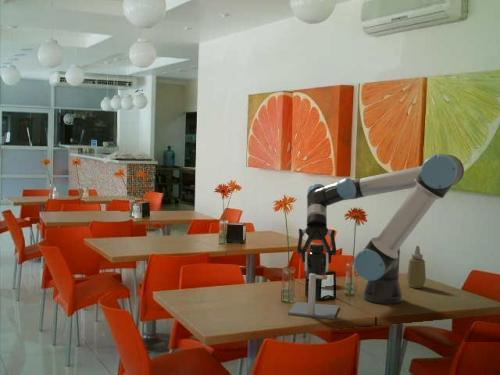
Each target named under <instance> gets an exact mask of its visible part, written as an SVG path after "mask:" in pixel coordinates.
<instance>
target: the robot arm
mask: <svg viewBox="0 0 500 375" xmlns="http://www.w3.org/2000/svg"><path fill="white" fill-rule="evenodd" d="M464 172H465V168H464V164H463V162H462V160H460V159H459V158H458V157H456V156H455V155H451V154H445V153H444V154H443V153H437V154H434V155H431V156H429V157H428V158H427V159H426V160H425V161H424V162H423V163H422V165H421V166H420V165H419V166H414V167H411V168H406V169H400V170H394V171H391V172H385V173H380V174H377V175H370V176H366V177H362V178H357V179H351V178H350V177H346V178H343V179H339V180H337V181H335V182H333V183H331V184H327V185H324V184H321V183H318V184H317V183H314V184H312V185H310V186H309V187H308V188H307V195H306V201H307V202H306V205H307V206H306V228H305V229H302V228H298V242H297V248H296V253H297V254H298V255H301V262H302V263H304V272H307V254H308V251H309V249H310V245H311V243H313V241H320V243H321V245H323V246H324V251H325V254H326V273H329V264H332V256H336V254H337V246H336V239H335V234H336V230H335V229H332V230H329V229H328V226H327V225H328V224H327V223H328V222H327V221H328V220H327V214H328V213H327V211H328V210H327V207H328V206H330V205H334V204H337V203H340V202H342V201H349V200H356V199H360V198H366V197H369V196H376V195H380V194H386V193H392V192H398V191H403V190H409V189H412V190H411V191H410V193H409V194H408V196H407V197H406V198H405V200H404V201H403V202H402V204H401V205H400V206H399V208H398V209H397V210H396V212H395V213H394V215H393V216H392V217H391V219H390V220H389V221H388V223H387V224H386V226H385V227H384V229H382V230H381V232H380V234H379V235H378V236H376V237H372V238H371V239H370V240H369V241H368V243H367V244H366V246H365V247H364V248H363V249H362V250H360V251H359V252H358V253H357V254H356V255H355V257H354V261H353V266H354V270H355V272H356V273H357V275H358V276H359V277H360V278H362V279H363V280H365V281H367V282H366V285H365V286H364V290H363V293H362V294H363V296H362V298H363V299H364V300H365V301H367V302H371V303H375V304H376V303H377V304H386V305H388V304H391V305H392V304H400V303H402V302H403V293H402V288H401V285H400V281H399V278H400V277H399V276H400V255H401V246H402V245H403V244H404V243H405V241H406V240H407V239H408V237H409V236H410V235H411V233H412V232H413V231H414V230H415V228H416V227H417V226H418V224H419V223H420V222H421V220H422V219H423V218H424V217H425V214H427V212H428V211H429V210H430V209H431V207H432V206H433V204H434V203H435V202H436V200H440V199H441V200H442V199H443V198H444V197H445V196H446V195H447V193H448V192H449V191H450V189H451V188H452V187H453V186H455V185H457V184H459V182H461V180H462V179H463V176H464ZM305 234H306V235H307V236H308V237H307V240H306V241H305V244H304V245H303V238H304V236H305ZM327 235H328V237H329V238H330V239H329V240H330V246H329V242H328V241H327V239H326V236H327ZM302 246H303V247H302Z"/></svg>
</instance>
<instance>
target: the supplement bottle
mask: <svg viewBox="0 0 500 375" xmlns="http://www.w3.org/2000/svg"><path fill="white" fill-rule="evenodd" d="M324 251H325V248H324V246H323V244H316V243H315V244H310V246H309V252H307V271H306V278H307V280H308V279H309V274H311V273H312V274H316V275H322V276H324V275H326V276H327V274H326V273H327V272H326V252H324ZM316 280H322V281H323V280H324V279H316Z"/></svg>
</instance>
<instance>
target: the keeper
mask: <svg viewBox="0 0 500 375" xmlns="http://www.w3.org/2000/svg"><path fill="white" fill-rule="evenodd" d="M316 279H323V280H325V281H326V280H327V279H328V276H327V274H326V275H324V276H322V275H316V274H312V273H311V274H309V281H308V292H307V293H308V298H307V300H308V301H307V302H304V301H303V302H301V301H296V302H295V303H294V304H293V305H292V307H291V308H290V310H289V311H288V312H287V315H289V316H298V317H300V316H301V317H308V318H309V317H310V318H311V317H312V318H320V319H329V320H334V319H335V317H336V315H337V313H338V311H339V309H340V305H338V304H337V305H334V304H324V303H316V291H317V290H316V289H317V288H316V286H317V283H316Z"/></svg>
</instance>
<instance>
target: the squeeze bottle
mask: <svg viewBox="0 0 500 375" xmlns="http://www.w3.org/2000/svg"><path fill="white" fill-rule="evenodd" d="M420 250H421V249H420V246H419V245H416V246H415V250H414V253H412V254H411V258H410V259H409V260H408V267H407V272H406V280H407V284H408V286H409V287H410V288H414V289H421V288H424V286H425V283H426V280H427V278H426V261H425V260H424V259H423V258H424V255H423V254H422V253H421V251H420Z"/></svg>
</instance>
